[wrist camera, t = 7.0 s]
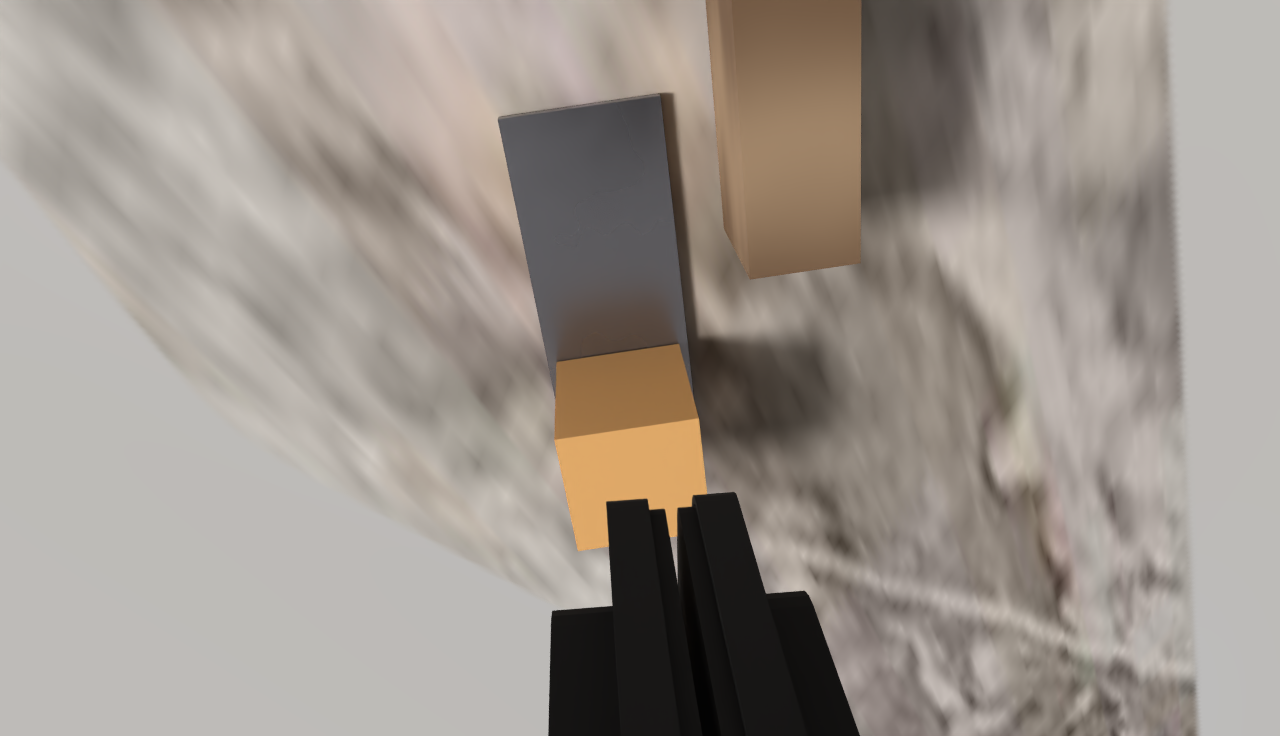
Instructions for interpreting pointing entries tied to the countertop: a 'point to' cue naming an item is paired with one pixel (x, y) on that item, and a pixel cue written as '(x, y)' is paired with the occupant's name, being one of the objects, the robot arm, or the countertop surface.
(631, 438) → the orange cube
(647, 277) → the grey flat plate
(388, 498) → the countertop surface
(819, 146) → the bar
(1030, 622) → the countertop surface
